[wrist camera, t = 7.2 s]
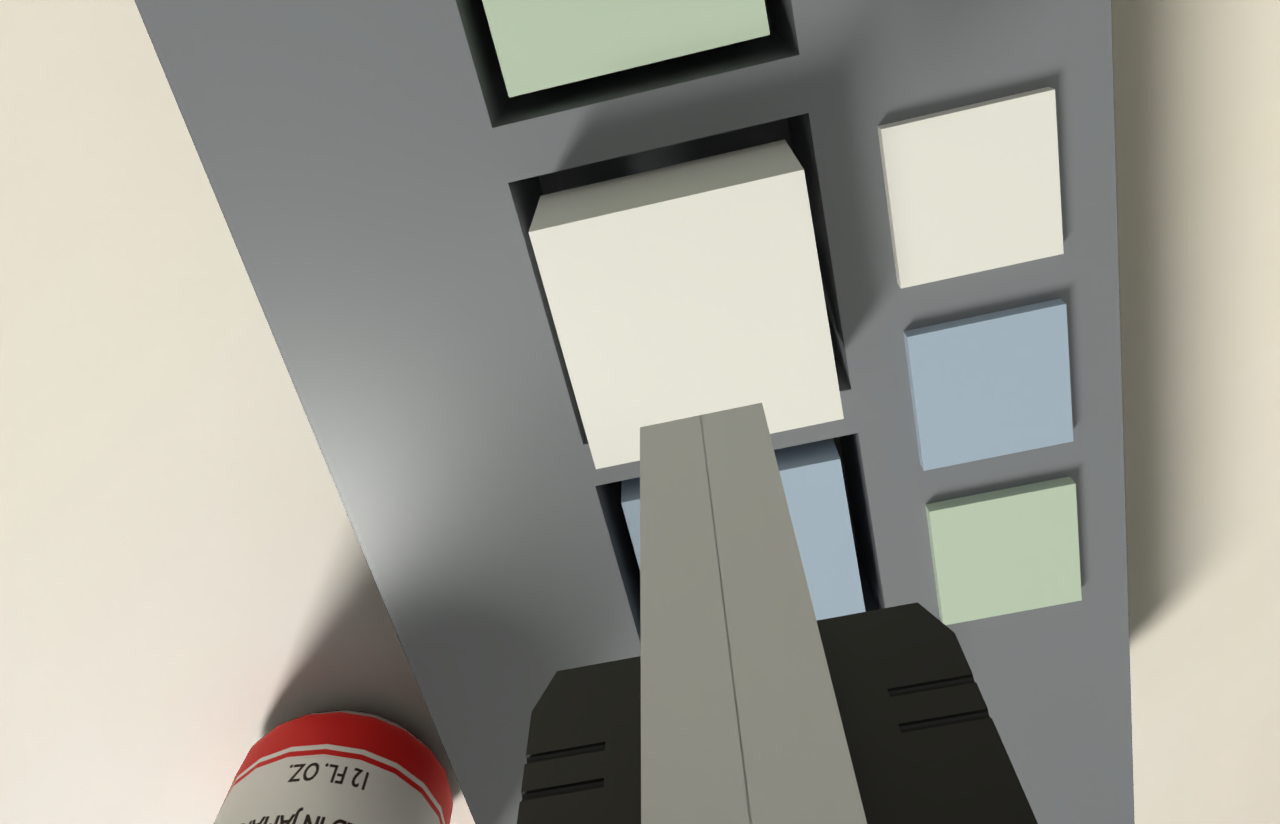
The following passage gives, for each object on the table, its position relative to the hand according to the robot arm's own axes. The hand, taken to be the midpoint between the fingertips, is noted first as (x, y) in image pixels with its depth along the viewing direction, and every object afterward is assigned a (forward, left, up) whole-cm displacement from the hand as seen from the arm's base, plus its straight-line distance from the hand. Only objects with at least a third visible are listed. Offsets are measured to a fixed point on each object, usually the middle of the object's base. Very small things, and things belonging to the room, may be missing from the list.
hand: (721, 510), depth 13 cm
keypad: (0, -3, -12) cm, 12 cm away
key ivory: (0, 0, -8) cm, 8 cm away
